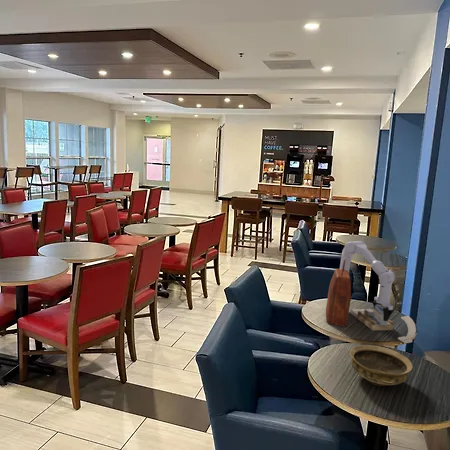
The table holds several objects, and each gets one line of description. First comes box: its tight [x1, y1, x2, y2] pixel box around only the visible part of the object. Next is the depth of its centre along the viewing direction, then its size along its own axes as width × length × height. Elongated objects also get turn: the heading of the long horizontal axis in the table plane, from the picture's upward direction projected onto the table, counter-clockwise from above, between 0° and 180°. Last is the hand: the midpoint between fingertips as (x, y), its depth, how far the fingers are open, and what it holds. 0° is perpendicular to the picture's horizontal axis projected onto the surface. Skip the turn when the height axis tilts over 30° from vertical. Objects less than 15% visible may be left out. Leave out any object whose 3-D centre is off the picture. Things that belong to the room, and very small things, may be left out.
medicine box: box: [373, 304, 388, 325], centre depth 218 cm, size 8×4×9 cm, turn 9°
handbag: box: [325, 259, 352, 328], centre depth 225 cm, size 10×19×35 cm, turn 168°
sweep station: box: [349, 309, 394, 331], centre depth 228 cm, size 24×12×4 cm, turn 11°
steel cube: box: [363, 308, 374, 319], centre depth 226 cm, size 4×4×4 cm
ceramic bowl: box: [349, 344, 413, 387], centre depth 165 cm, size 30×24×10 cm
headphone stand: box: [397, 315, 417, 344], centre depth 205 cm, size 5×6×12 cm
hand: (381, 317), depth 219 cm, fingers closed on medicine box, 7 cm apart
